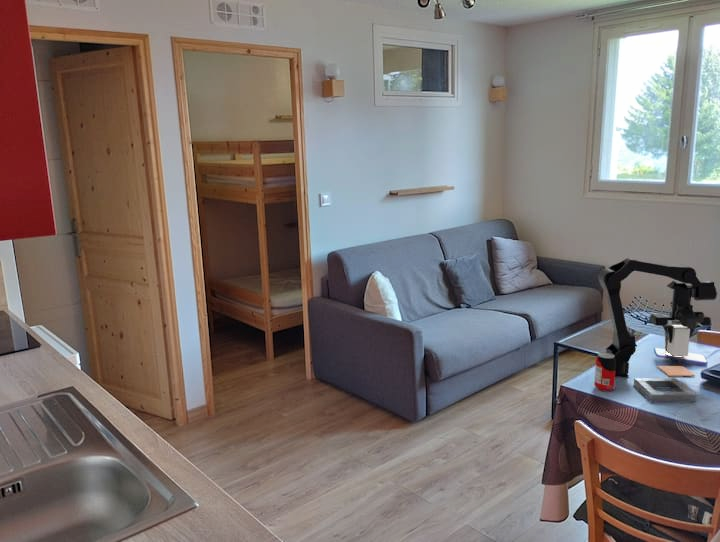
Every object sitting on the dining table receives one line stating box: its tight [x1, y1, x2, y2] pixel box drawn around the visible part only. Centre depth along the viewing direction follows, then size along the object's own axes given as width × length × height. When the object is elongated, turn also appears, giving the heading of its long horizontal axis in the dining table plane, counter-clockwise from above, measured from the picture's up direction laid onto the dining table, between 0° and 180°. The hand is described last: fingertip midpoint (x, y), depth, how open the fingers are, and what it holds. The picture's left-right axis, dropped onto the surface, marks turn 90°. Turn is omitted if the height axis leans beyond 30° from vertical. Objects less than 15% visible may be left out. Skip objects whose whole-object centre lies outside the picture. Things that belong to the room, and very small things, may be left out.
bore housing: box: [633, 377, 697, 403], centre depth 190 cm, size 14×14×2 cm
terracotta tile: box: [657, 365, 696, 378], centre depth 208 cm, size 9×9×1 cm
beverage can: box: [593, 352, 616, 392], centre depth 194 cm, size 6×6×12 cm
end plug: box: [667, 325, 691, 357], centre depth 203 cm, size 5×5×10 cm
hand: (677, 342), depth 203 cm, fingers closed on end plug, 5 cm apart
